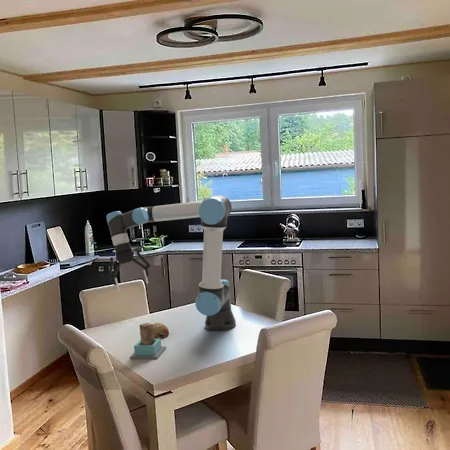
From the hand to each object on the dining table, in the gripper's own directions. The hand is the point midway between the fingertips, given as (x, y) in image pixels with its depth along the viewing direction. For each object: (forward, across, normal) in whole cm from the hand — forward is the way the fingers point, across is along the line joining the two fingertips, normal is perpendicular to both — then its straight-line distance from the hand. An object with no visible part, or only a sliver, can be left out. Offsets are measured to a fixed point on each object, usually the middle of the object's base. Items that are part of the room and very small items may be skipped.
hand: (133, 287), depth 243 cm
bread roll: (+25, -5, -7) cm, 26 cm away
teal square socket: (+30, +1, +16) cm, 34 cm away
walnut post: (+29, +1, +16) cm, 33 cm away
